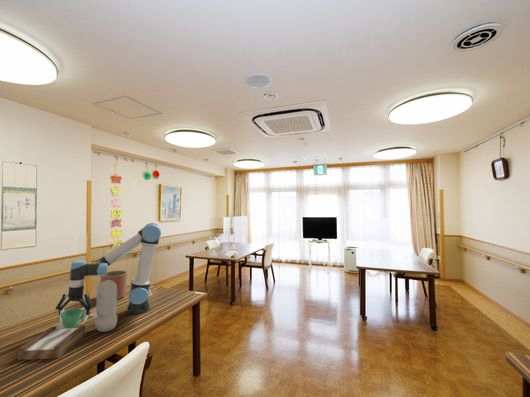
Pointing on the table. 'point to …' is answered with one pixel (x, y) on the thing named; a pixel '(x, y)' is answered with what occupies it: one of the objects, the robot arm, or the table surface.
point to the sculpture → (106, 306)
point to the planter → (116, 281)
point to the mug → (72, 317)
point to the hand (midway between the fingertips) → (73, 320)
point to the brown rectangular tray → (51, 343)
